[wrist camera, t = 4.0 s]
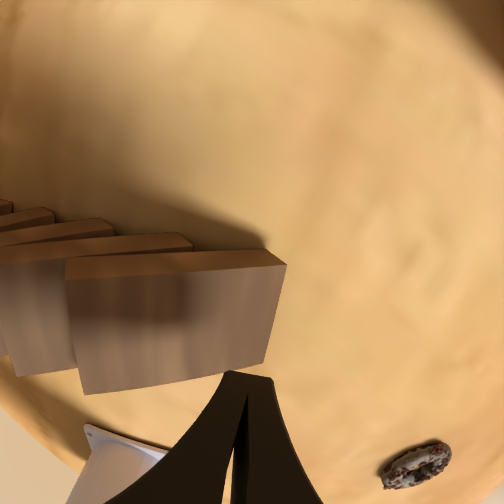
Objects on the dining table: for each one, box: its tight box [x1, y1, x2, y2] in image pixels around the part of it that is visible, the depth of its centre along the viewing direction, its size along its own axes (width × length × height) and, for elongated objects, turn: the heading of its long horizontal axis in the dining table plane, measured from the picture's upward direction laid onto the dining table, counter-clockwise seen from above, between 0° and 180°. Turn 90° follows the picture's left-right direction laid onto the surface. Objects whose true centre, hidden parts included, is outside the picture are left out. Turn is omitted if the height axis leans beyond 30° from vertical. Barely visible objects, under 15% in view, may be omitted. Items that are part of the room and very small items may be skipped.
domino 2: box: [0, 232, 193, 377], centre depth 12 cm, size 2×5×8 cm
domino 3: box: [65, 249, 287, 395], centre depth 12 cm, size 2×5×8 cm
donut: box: [381, 443, 452, 490], centre depth 18 cm, size 8×8×2 cm
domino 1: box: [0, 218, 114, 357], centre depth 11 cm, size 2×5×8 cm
